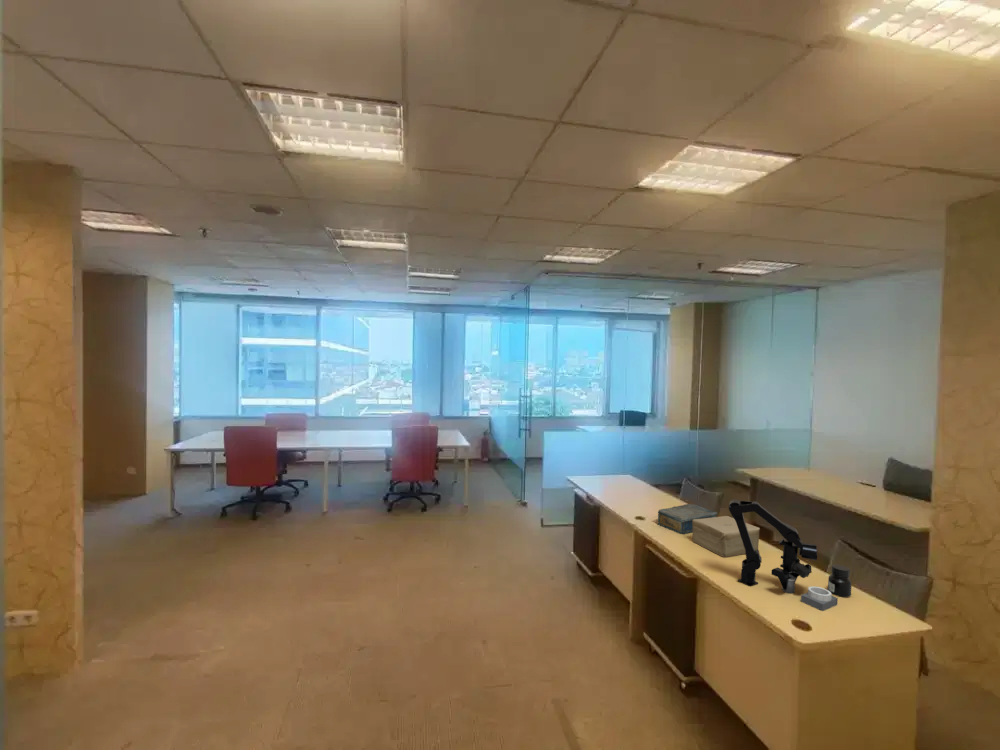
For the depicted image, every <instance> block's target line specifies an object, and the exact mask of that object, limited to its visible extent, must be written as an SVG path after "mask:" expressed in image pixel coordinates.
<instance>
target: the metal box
mask: <svg viewBox="0 0 1000 750" xmlns="http://www.w3.org/2000/svg"><path fill="white" fill-rule="evenodd" d="M718 513H719V512H717V511H715V510H712V509H708V508H705V507H702V506H700V505H697V504H694V503H686V504H682V505H677V506H676V505H675V506H672V507H668V508H661V509H658V513H657V525H658V526H660V527H662V528H664V529H667V530H671V531H673V532H675V533H677V534H679V535H687V534H693V525H692V520H694V519H703V518H712V517H718Z"/></svg>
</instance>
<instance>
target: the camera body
mask: <svg viewBox="0 0 1000 750" xmlns="http://www.w3.org/2000/svg"><path fill="white" fill-rule="evenodd" d="M807 589H808V590H807V592H806V593H803V594H801V595H800V602H801V603H803V604H806V605H807V606H810V607H812V608H814V609H817V610H819V611H822V612H823V611H826V610H829V609H831V608H834V607H835V606H837V605H838V599H839V598H838V597H836V596H834V595H833V594H832V593H831V592H830V591H828V589H826V588H824V587H820V586H808V588H807Z"/></svg>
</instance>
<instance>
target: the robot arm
mask: <svg viewBox="0 0 1000 750" xmlns="http://www.w3.org/2000/svg"><path fill="white" fill-rule="evenodd" d="M728 511H729V513H730V514H731V516H732V518H734V519H735V521H736V523H737V526H738V529H739V532H740V535H741V539H742V542H743V545H744V548H745V552H746V554H745V559H743V560H742V562H741V572H740V573H741V574H740V575H741V576H740V578H738V579H737V581H738V582H740V583H742V584H745V585H747V586H748V587H752V586H755V585H757V584H759V582H758V581H756V573H757V570H759V569H760V568H761V564H762V562H763V561H762V557H761V555H760V550H759V549H758V550H755V549H754V547H753V544H752V541H751V538H750V535H749V532H748V529H747V526H746V523H747V522H746V521H745V517H744V514H745V513H751V512H753V513H755V514H757V515H758V516H760V517H761V518H762V519H764V520H765V521H766V522H767V523H768V524H770V525H771V526H772V527H773V528H775V529H776V530H777V531H778V533H780V535H781V536H782V537H783V538H782V539H781V540H778V544H779V545H781V546H783V549H782V555H781V556H780V559H782V563H781V564H780V565H779V567H774V568H773V569H771V573H770V574H771V575H772V576H775V577H777V578H778V580H779V582H780V585H781V588H782V587H783V589H784V590H786V589H787V585H788V580H789V579H791V577H789V574H790V575H793V576H795V583H796V582H797V579H798V578H799V577H800V578H803V579H805V578H808V577H809V575H810V574H812V573H813V572H812V565H810V564H809V563H807V564H804V563H801V561H800V560H801V559H800V558H798V554H799V555H800V556H801V558H802V559H807V560H812V561H817V560H818V552H817V551H818V550H817V548H818V547H817V544H816V543H808V542H803V540H802V539H801V538H800V535H799V531H798V530H797V529H796V527H794V526H792V525H790V524H788V523H786V522H784V521H782V520H780V519H779V518H778V517H777V516H776V515H774V514H773V513H771V512H770V511H768V509H766V508H765V507H763V506H762V505H761V504H760V503H759V502H758V501H755V500H754V501H749V500H739V499H731V500H730V501H729V504H728Z"/></svg>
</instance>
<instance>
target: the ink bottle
mask: <svg viewBox="0 0 1000 750" xmlns="http://www.w3.org/2000/svg"><path fill="white" fill-rule="evenodd" d="M850 570H851V569H850V568H849V567H847V566H845V565H842V564H832V565H831V574H830V575H829V576H828V577H827V578H828V581H827V583H828V584H827V590H828V591H830V592H831V594H832V595H833V596H834V595H835V596H837V597H842V598H850V597H851V595H852V586H853V585H852V584H853V582H852V581H851V579H850Z"/></svg>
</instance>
